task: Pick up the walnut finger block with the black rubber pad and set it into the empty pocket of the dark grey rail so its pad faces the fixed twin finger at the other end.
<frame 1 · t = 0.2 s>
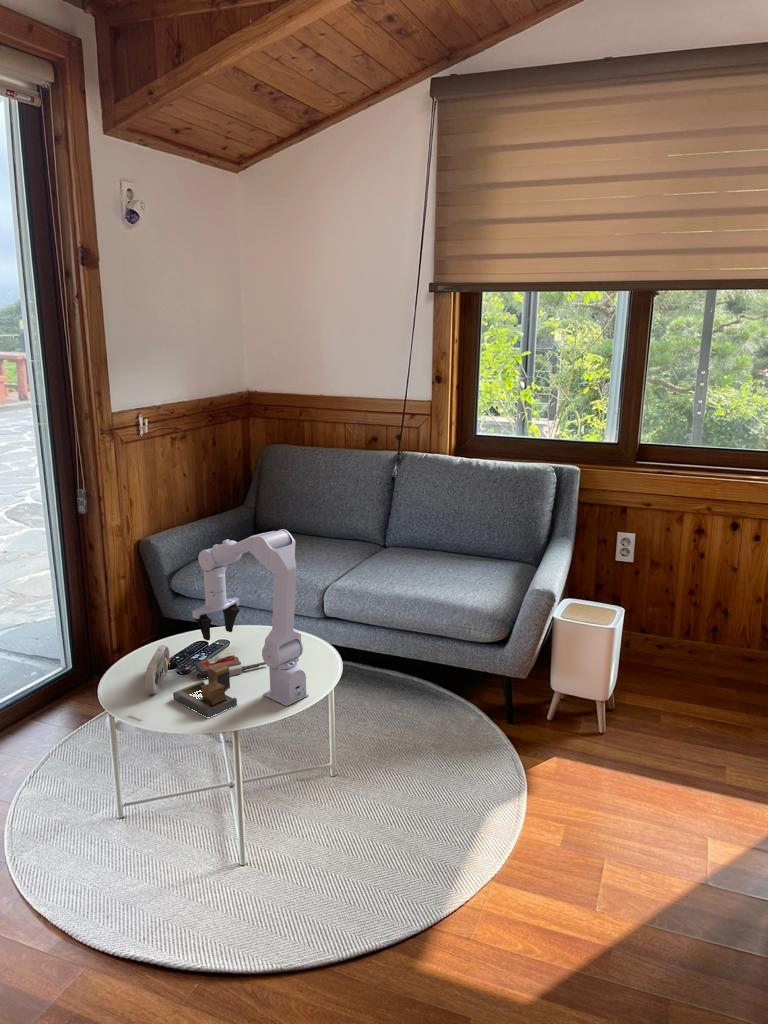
hand: (218, 635, 217), 10 cm above the table, tool pointing down, fingers open, 7 cm apart
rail: (205, 702, 200), on the table
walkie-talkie: (230, 671, 219), on the table
game controller: (159, 683, 211), on the table
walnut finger: (219, 688, 208), on the table
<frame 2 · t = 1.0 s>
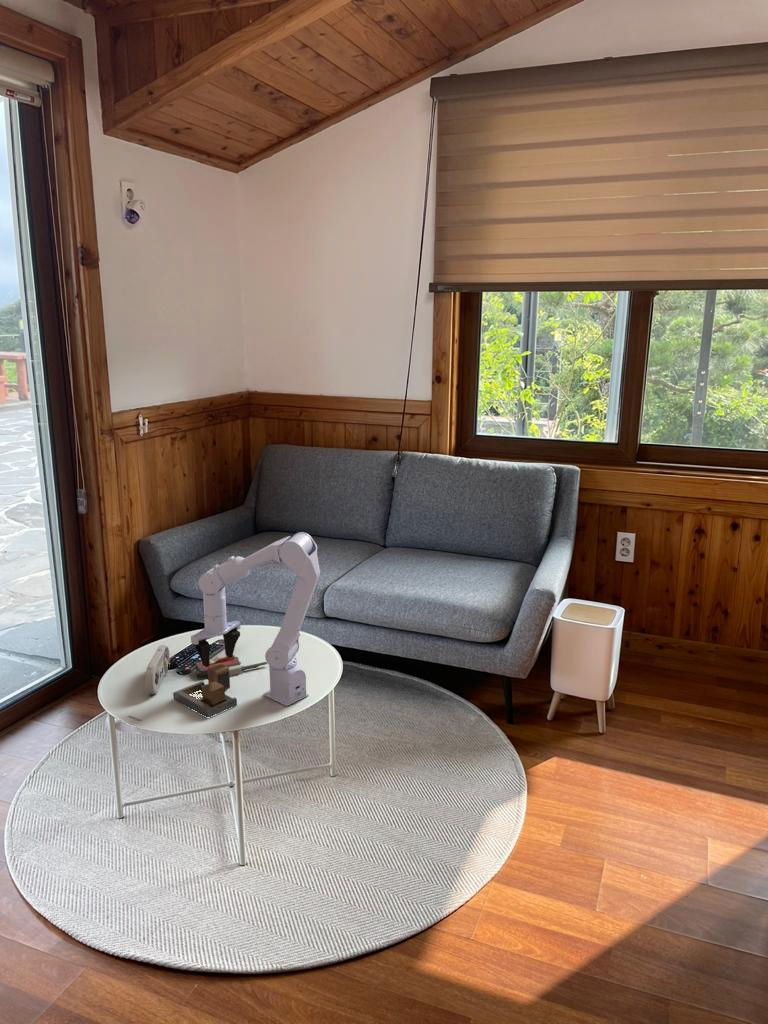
hand: (217, 661, 206), 8 cm above the table, tool pointing down, fingers open, 7 cm apart
nothing on the table moved.
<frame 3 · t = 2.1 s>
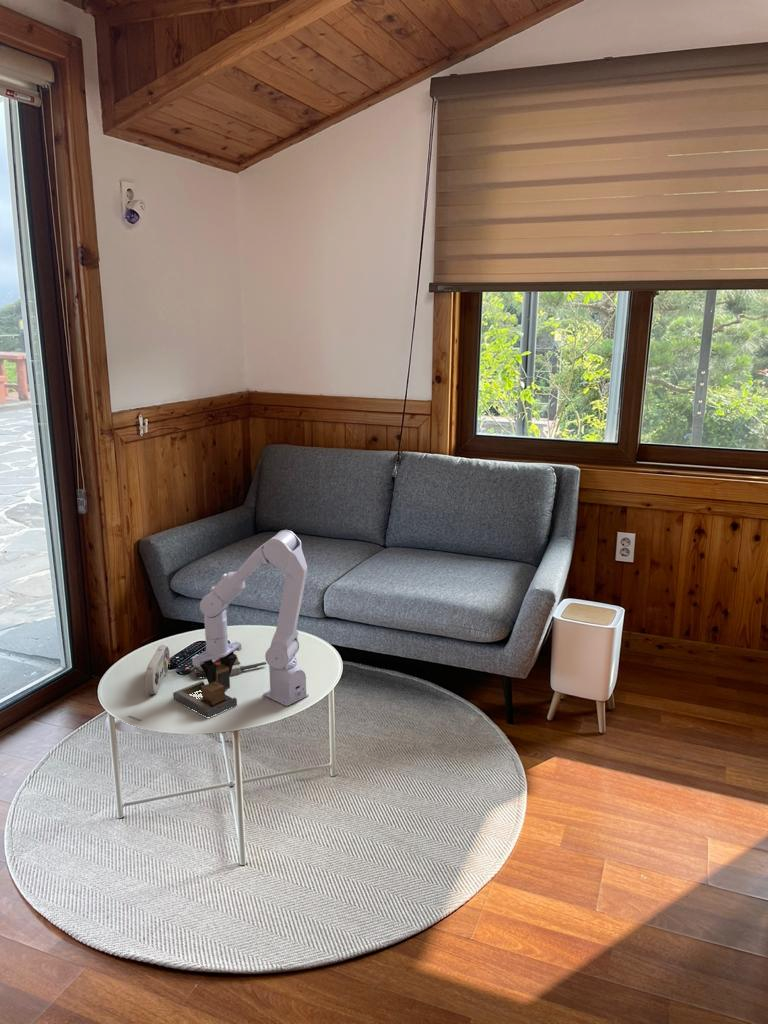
hand: (219, 682, 207), 2 cm above the table, tool pointing down, fingers closed on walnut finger, 4 cm apart
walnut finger: (219, 687, 208), on the table, touching gripper
everything else where it was.
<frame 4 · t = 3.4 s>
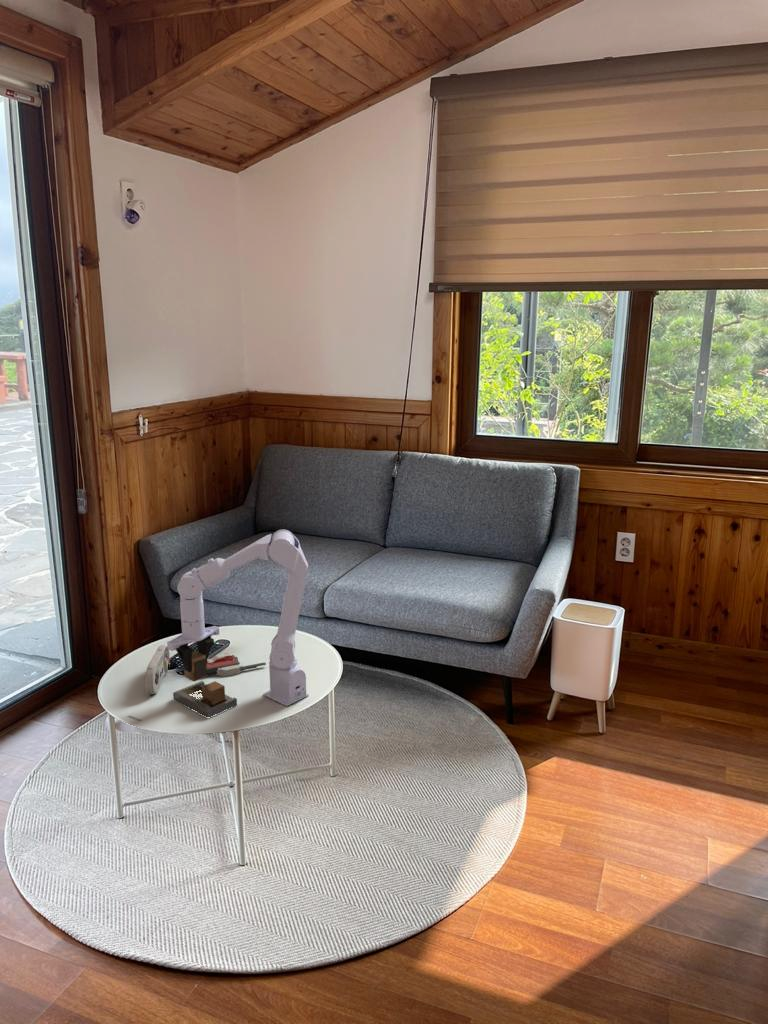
hand: (195, 667, 200), 9 cm above the table, tool pointing down, fingers closed on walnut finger, 4 cm apart
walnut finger: (195, 676, 201), point 6 cm above the table, touching gripper
everything else where it was.
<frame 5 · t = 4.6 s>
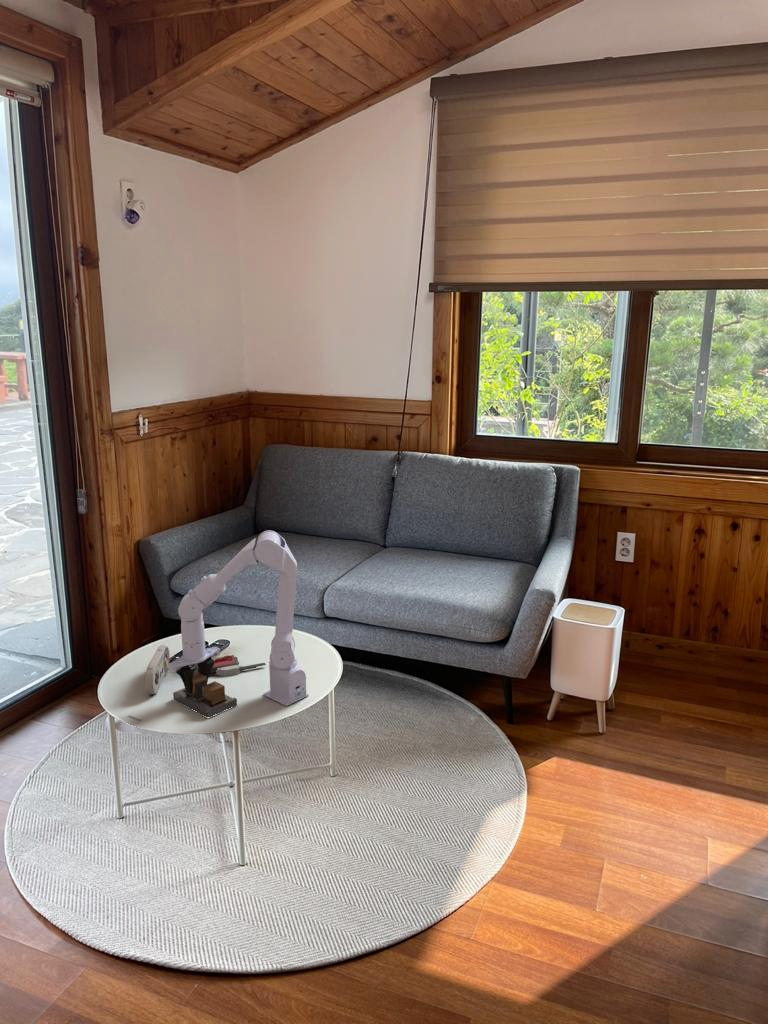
hand: (196, 688, 201), 3 cm above the table, tool pointing down, fingers closed on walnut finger, 4 cm apart
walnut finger: (196, 697, 202), resting on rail, touching gripper
everything else where it was.
when the fingers open (3 cm above the table, at t = 4.9 s): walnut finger stays where it is, resting on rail.
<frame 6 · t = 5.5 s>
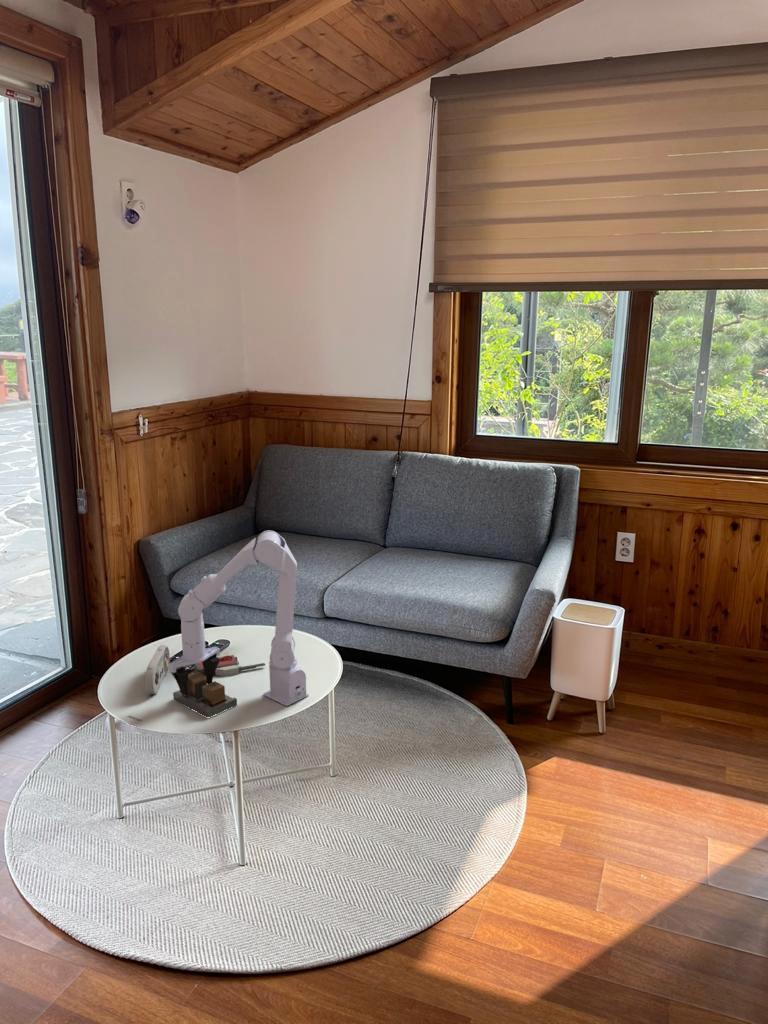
hand: (196, 688, 201), 3 cm above the table, tool pointing down, fingers open, 7 cm apart
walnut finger: (196, 697, 202), resting on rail
everything else where it was.
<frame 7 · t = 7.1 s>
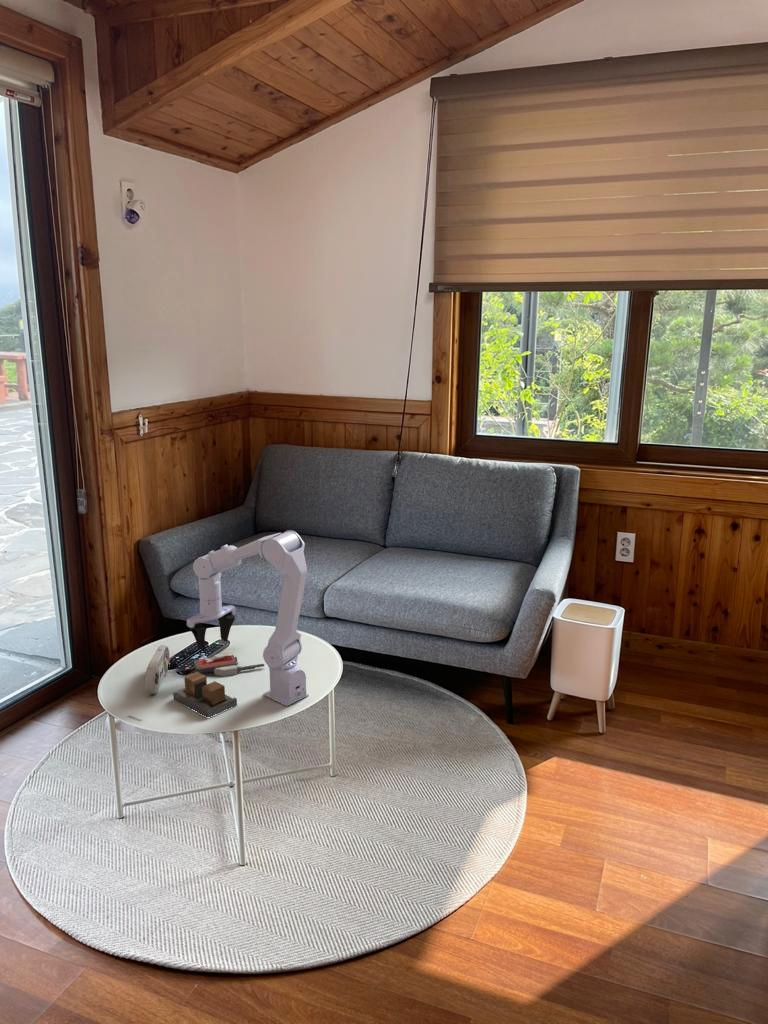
hand: (213, 644, 211), 10 cm above the table, tool pointing down, fingers open, 7 cm apart
nothing on the table moved.
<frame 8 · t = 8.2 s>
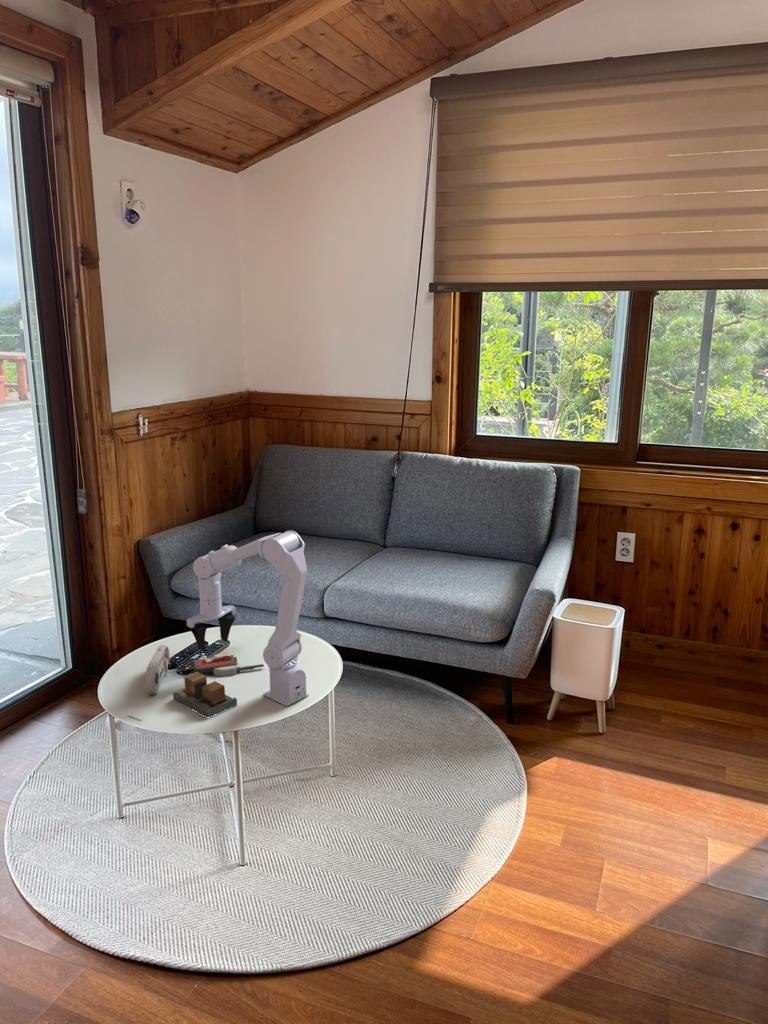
hand: (213, 644, 211), 10 cm above the table, tool pointing down, fingers open, 7 cm apart
at the end: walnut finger 0.2 cm from the target spot on the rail, point 0.2 cm above the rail's base; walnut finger tilted 0°; the gripper is holding nothing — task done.
